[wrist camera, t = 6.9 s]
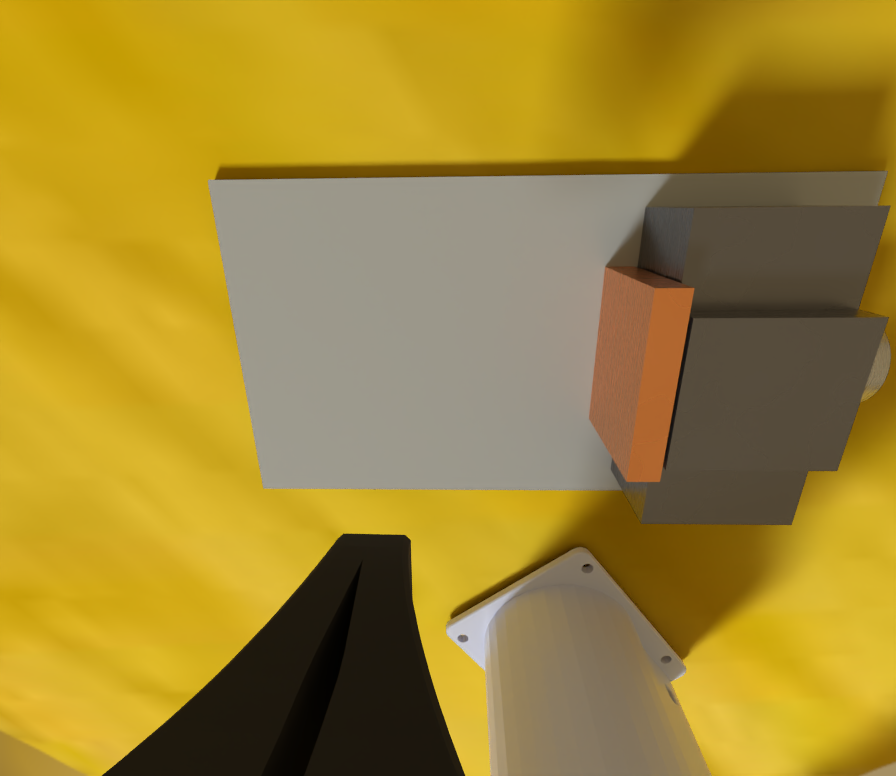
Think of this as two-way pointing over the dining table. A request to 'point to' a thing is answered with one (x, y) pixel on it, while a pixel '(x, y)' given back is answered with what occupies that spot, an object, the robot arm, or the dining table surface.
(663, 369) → the pin
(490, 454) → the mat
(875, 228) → the hitch block
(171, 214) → the dining table surface
